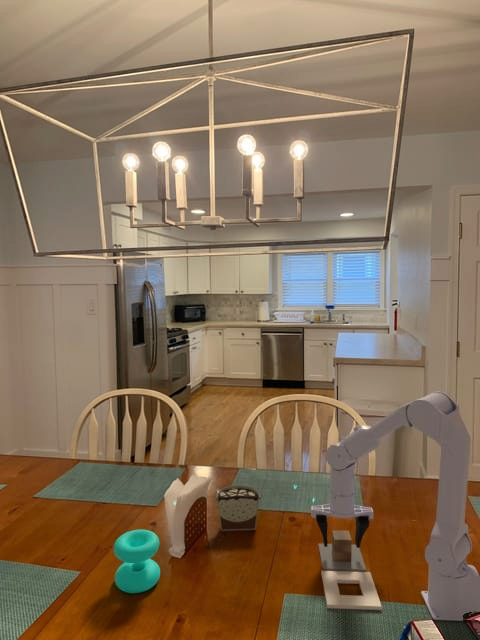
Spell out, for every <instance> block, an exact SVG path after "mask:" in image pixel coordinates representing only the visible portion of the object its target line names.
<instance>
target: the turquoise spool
mask: <svg viewBox="0 0 480 640" xmlns="http://www.w3.org/2000/svg"><path fill="white" fill-rule="evenodd" d="M159 548H160V539H159V537H158V535H157V534H156V533H155V532H153V531H151V530H147V529H133V530H130V531H127V532H125V533H123V534H121V535H120V536H119V537H118V538H117V539H116V540H115V542H114V545H113V553H114V555H115V557H116V558H117V559H118V560H120V561H122V562H123V563H121V565H120V566H119V567H118V568H117V570H116V572H115V574H114V583H115V585H116V587H117V588H118V589H119V590H121V591H123V592H124V593H128V594H140V593H143V592H146V591H148V590H150V589H152V588H153V587H154V586H155V585H157V583H158V582H159V580H160V577H161V568H160V566H159V564H158V563H157V562H156V561H155V560H154V559H151V558H152V557H154V556H155V554H156V553H157V552H158V550H159Z"/></svg>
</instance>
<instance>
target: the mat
mask: <svg viewBox="0 0 480 640" xmlns="http://www.w3.org/2000/svg"><path fill="white" fill-rule="evenodd" d="M317 545H318V551H319V555H320V562H321V567H322V571H348V572H367V567H366V564H365V561H364V558H363V554H362V552H361V547H360V548H357V547H356V544H353V543H352V553H351V562H334V558H333V554H332V543H328V544H327V547H324V543H318V544H317Z"/></svg>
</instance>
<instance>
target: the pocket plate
mask: <svg viewBox="0 0 480 640" xmlns="http://www.w3.org/2000/svg"><path fill="white" fill-rule="evenodd" d="M321 579H322V585H323V586H322V587H323V591H324V597H325V603H326V608H327V609H340V610H341V609H342V610H343V609H345V610H346V609H347V610H364V611H365V610H366V611H367V610H369V611H371V610H372V611H382V610H383V608H382V607H383V606H382V603H381V601H380V597H379V595H378V591H377V588H376V586H375V583H374V582H375V581H374V579H373V577H372V573H371V572H370V571H342V570H321ZM338 584H351V585H352V584H356V585H358V584H359V588H360V591H361V594H362V595H347V594H346V595H345V594H340V589H339V585H338Z"/></svg>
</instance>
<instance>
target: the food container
mask: <svg viewBox="0 0 480 640" xmlns="http://www.w3.org/2000/svg"><path fill="white" fill-rule="evenodd" d="M259 502H262V498H261V495H260V493H259V491H258V490H257V489H256V488H254V487H252V486H248V485H240V484H239V485H237V484H236V485H235V484H234V485H230V486H226V487H223V488H221V489H219V491H217V494H216V496H215V503H217V506H218V507H217V508H218V515H219V524H220V530H221V531H223V532H225V531H226V532H227V531H252V530H253V531H255V530H257V520H258V514H259V513H258V512H259V504H260V503H259Z"/></svg>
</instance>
